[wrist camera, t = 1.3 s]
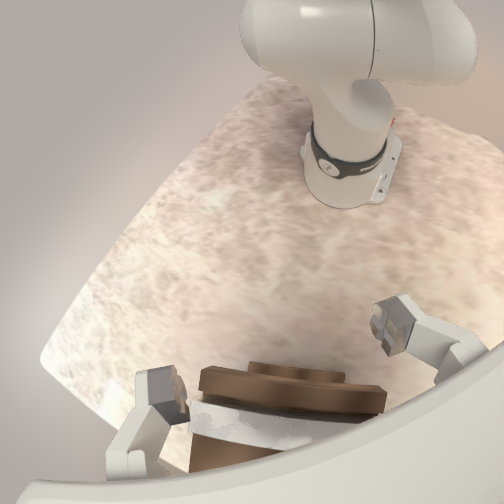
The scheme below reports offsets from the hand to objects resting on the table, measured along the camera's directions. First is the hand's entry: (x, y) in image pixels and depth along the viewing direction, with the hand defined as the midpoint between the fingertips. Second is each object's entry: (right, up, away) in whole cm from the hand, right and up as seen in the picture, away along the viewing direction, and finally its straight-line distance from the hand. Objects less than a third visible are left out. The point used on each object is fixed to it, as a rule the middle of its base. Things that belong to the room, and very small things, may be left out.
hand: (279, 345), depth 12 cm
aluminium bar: (+7, -12, +12) cm, 18 cm away
